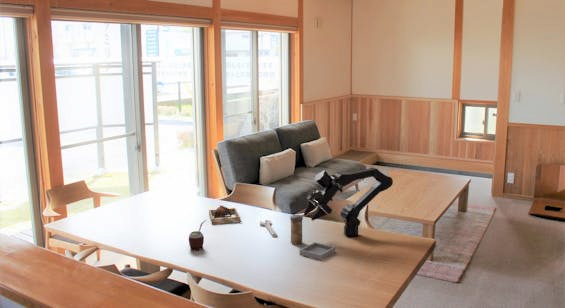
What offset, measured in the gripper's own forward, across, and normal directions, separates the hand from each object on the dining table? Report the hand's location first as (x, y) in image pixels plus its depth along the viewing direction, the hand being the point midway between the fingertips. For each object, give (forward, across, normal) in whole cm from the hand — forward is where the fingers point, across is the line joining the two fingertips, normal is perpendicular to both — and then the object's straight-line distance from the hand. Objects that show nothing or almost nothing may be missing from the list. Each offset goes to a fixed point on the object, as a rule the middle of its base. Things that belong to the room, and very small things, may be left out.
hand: (308, 217), depth 261 cm
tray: (+10, +17, +7) cm, 21 cm away
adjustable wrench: (+18, -25, +1) cm, 31 cm away
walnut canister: (+13, 0, +4) cm, 14 cm away
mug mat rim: (+29, -53, -12) cm, 61 cm away
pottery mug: (+30, -53, -12) cm, 62 cm away
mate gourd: (+47, -11, -28) cm, 56 cm away
